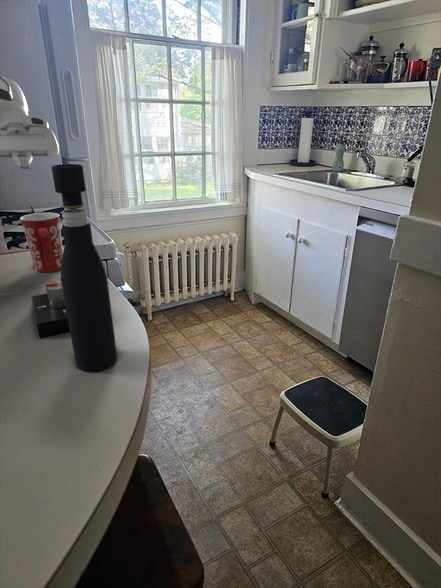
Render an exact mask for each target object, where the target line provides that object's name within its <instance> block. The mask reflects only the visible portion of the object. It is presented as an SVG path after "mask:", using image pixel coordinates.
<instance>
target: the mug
mask: <svg viewBox="0 0 441 588" xmlns="http://www.w3.org/2000/svg"><path fill="white" fill-rule="evenodd" d="M60 217H61V216H60V214H59V213H57V212H35V213H29V214H25V215H22V216H20V217H19V220H20V222H21V225H22V229H23V232H24V237H25V240H26V243H27V246H28V250H29V254H30V257H31V258H30V259H31V261H32V264H33V265H32V266H33V268H34V270H35V272H38V273H52V272H56V271H57V272H58V271H61V262H62V257H63V251H64V247H63V239H62V238H63V237H62V228H61V221H60Z"/></svg>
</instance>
